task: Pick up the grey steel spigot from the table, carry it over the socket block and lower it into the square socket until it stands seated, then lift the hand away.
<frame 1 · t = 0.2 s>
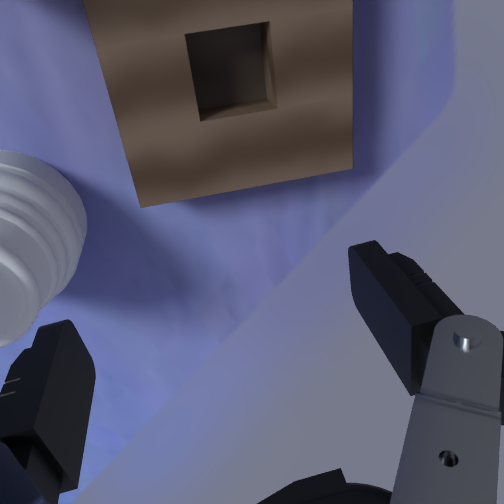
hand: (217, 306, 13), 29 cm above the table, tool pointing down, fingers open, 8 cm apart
socket block: (225, 64, 36), on the table
honey pot: (12, 218, 40), on the table
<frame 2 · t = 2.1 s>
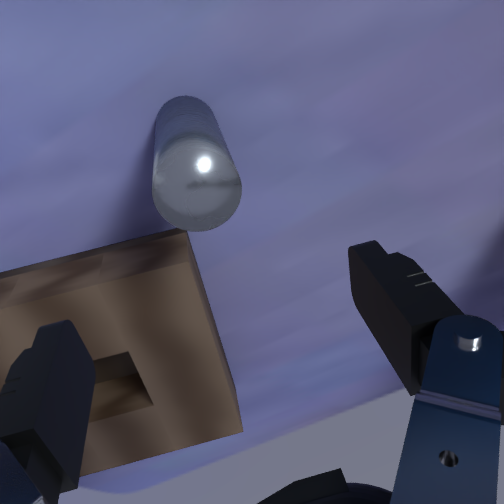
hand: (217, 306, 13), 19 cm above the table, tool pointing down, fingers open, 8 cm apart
socket block: (109, 344, 37), on the table
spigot: (186, 127, 29), on the table
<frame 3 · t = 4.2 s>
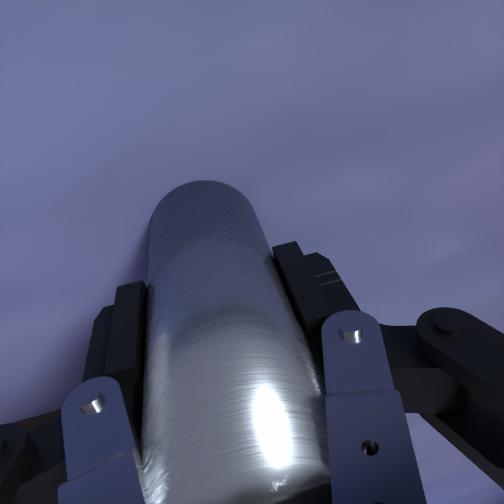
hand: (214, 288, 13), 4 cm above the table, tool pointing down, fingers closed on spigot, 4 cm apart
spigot: (204, 230, 17), on the table, touching gripper
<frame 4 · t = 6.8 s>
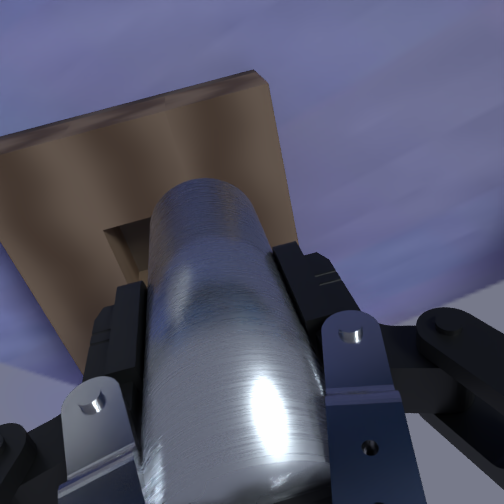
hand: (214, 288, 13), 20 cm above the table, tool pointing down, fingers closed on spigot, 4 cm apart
socket block: (164, 222, 34), on the table
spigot: (204, 228, 16), point 16 cm above the table, touching gripper
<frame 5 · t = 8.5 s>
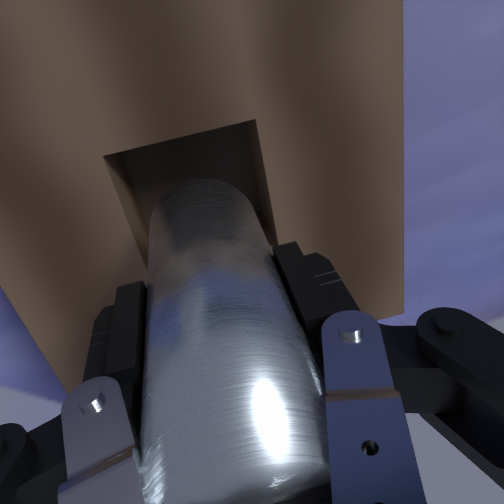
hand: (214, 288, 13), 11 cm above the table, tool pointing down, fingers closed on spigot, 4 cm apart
socket block: (192, 165, 23), on the table
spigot: (204, 229, 16), point 7 cm above the table, touching gripper
when the fingers open (6 cm above the table, at t = 9.8 s): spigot drops 1 cm, resting on socket block.
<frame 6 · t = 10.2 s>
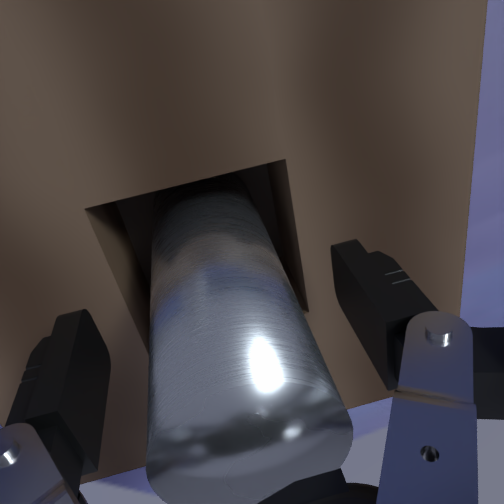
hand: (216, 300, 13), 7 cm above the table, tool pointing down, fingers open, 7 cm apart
socket block: (198, 203, 19), on the table
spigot: (203, 211, 18), point 1 cm above the table, touching socket block
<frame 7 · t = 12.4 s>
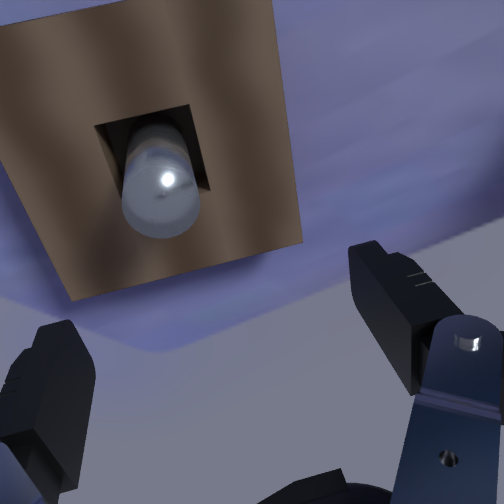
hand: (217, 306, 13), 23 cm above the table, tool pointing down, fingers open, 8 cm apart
socket block: (155, 138, 33), on the table
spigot: (157, 141, 32), point 1 cm above the table, touching socket block
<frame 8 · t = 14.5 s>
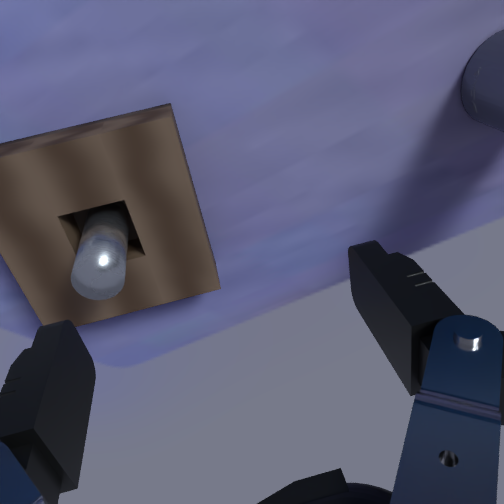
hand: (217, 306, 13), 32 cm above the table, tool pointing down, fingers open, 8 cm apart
socket block: (108, 213, 45), on the table
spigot: (108, 217, 44), point 1 cm above the table, touching socket block
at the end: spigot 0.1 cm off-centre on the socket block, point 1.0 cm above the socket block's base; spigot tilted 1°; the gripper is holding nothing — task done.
